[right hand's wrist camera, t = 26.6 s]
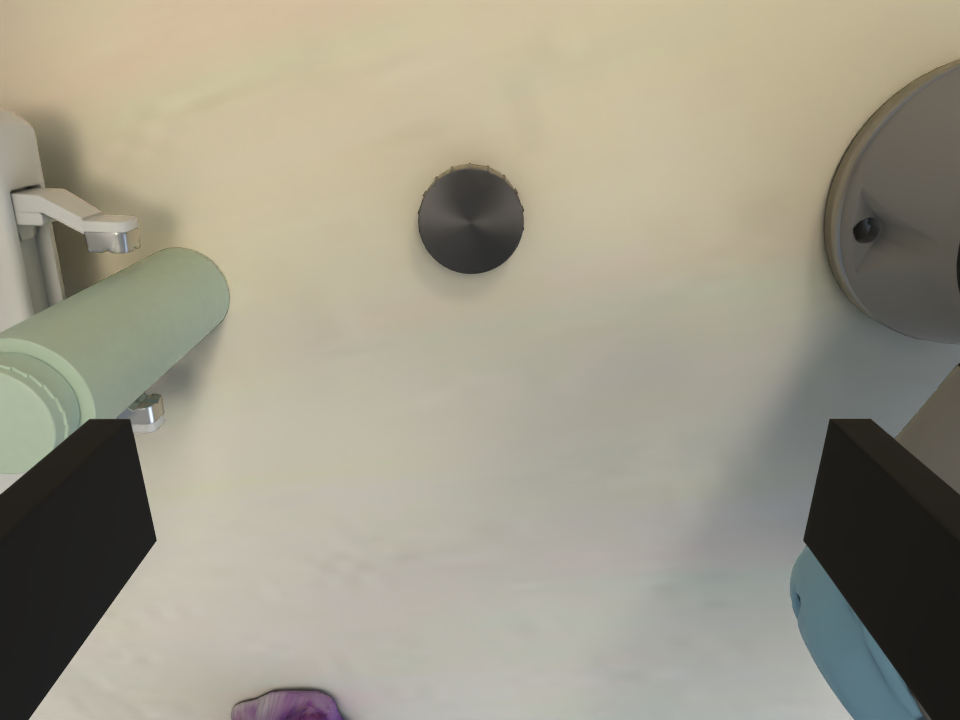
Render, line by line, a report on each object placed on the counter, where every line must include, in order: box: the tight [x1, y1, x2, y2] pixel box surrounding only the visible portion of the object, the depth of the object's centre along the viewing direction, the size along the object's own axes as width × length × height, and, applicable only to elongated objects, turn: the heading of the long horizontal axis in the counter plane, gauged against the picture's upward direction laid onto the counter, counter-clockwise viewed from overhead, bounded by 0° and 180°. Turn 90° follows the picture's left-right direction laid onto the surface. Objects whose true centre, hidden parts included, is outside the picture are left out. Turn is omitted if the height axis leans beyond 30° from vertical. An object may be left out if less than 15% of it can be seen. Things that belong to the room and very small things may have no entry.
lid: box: [418, 163, 524, 274], centre depth 37 cm, size 6×6×2 cm
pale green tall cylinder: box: [0, 248, 229, 474], centre depth 32 cm, size 5×5×17 cm
